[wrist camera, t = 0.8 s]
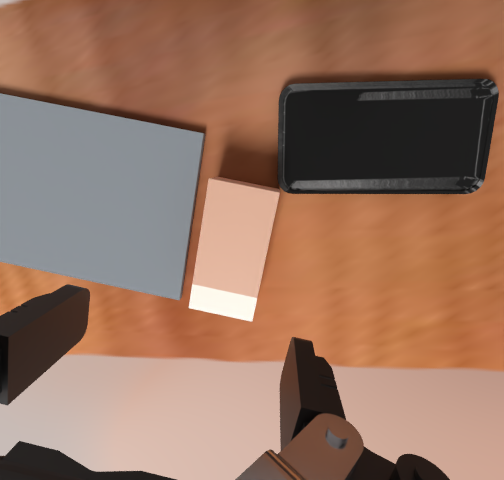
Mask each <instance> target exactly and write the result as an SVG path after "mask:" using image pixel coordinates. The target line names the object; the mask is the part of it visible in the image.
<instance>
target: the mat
mask: <svg viewBox="0 0 504 480" xmlns="http://www.w3.org/2000/svg"><path fill="white" fill-rule="evenodd" d="M204 140H205V134H204V133H199V132H194V131H189V130H184V129H179V128H174V127H169V126H163V125H158V124H153V123H148V122H143V121H138V120H133V119H128V118H123V117H118V116H113V115H108V114H103V113H98V112H92V111H87V110H82V109H77V108H72V107H67V106H62V105H57V104H52V103H47V102H42V101H37V100H32V99H26V98H21V97H16V96H11V95H6V94H1V93H0V262H4V263H9V264H14V265H18V266H23V267H27V268H32V269H37V270H41V271H46V272H51V273H55V274H60V275H65V276H69V277H74V278H78V279H83V280H88V281H92V282H97V283H102V284H106V285H111V286H116V287H120V288H125V289H130V290H134V291H139V292H143V293H148V294H153V295H157V296H162V297H167V298H171V299H176V300H180V299H181V297H182V290H183V284H184V277H185V270H186V263H187V256H188V250H189V243H190V236H191V229H192V222H193V215H194V209H195V202H196V195H197V188H198V181H199V175H200V168H201V161H202V154H203V147H204Z"/></svg>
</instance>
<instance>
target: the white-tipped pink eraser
mask: <svg viewBox="0 0 504 480" xmlns="http://www.w3.org/2000/svg"><path fill="white" fill-rule="evenodd" d="M279 194H280V190H279V189H277V188H272V187H267V186H262V185H257V184H252V183H247V182H242V181H237V180H232V179H227V178H222V177H213V178H209V180H208V187H207V193H206V200H205V206H204V213H203V219H202V226H201V232H200V239H199V245H198V252H197V258H196V264H195V271H194V277H193V284H192V290H191V297H190V303H189V308H192V309H196V310H201V311H205V312H210V313H215V314H219V315H224V316H228V317H233V318H238V319H242V320H247V321H252V320H253V315H254V311H255V306H256V301H257V297H258V292H259V287H260V283H261V278H262V273H263V269H264V264H265V259H266V255H267V250H268V245H269V241H270V236H271V231H272V227H273V222H274V217H275V213H276V208H277V203H278V199H279Z"/></svg>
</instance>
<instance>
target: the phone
mask: <svg viewBox="0 0 504 480" xmlns="http://www.w3.org/2000/svg"><path fill="white" fill-rule="evenodd" d="M498 96H499V91H498V88H497V86H496V84H495V83H494V82H492V81H491V80H489V79H456V80H418V81H379V82H341V83H302V84H291V85H289V86H287V87H286V88H285V89H284V90H283V91H282V93H281V95H280V98H279V123H278V183H279V185H280V187H281V188H282V189H283V190H284V191H285V192H287V193H292V194H468V193H472V192H474V191H476V190H477V189H479V188H480V187H481V185H482V184H483V182H484V179H485V174H486V168H487V162H488V156H489V150H490V144H491V139H492V133H493V127H494V121H495V115H496V109H497V103H498Z"/></svg>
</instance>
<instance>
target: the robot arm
mask: <svg viewBox="0 0 504 480" xmlns="http://www.w3.org/2000/svg"><path fill="white" fill-rule="evenodd" d="M89 301H90V292H89V290H88V289H86V288H82V287H78V286H73V285H65V286H63V287H61V288H60V289H58V290H56V291H54V292H52V293H51V294H50V293H49V294H46V295H42V296H38V297H35V298H32V299H31V300H29V301H27V302H25V303H23V304H21V306H18V307H16V308H14V309H12V310H11V312H7V313H5V314H3V315H1V316H0V403H1V404H5V405H8V404H10V403H11V402H12V401H13V400H14V399H15V398H16V397H17V396H19V395H20V394H21V393H22V392H23V391H24V390H25V389H26V388H28V386H30V385H31V384H32V383H33V382H34V381H35V380H37V379H38V378H39V377H40V376H41V375H42V374H43V373H44V372H46V371H47V370H48V369H49V368H50V367H51V366H52V365H53V364H54V363H56V362H57V361H58V360H59V359H60V358H61V357H62V356H63V355H65V354H66V353H67V352H68V351H69V350H70V349H71V348H72V347H74V346H75V345H76V344H77V343H78V342H79V341H80V340H81V339H82V337H83V336H84V334H85V332H86V329H87V324H88V312H89ZM334 379H335V378H334V374H333V371H332V368H331V366H330V365H329V364H328V363H327V361H326V360H325V359H324V358H323V357H318V356H315V353H314V348H313V343H312V341H309V340H305V339H300V338H296V337H292V339H291V341H290V345H289V349H288V352H287V356H286V360H285V363H284V367H283V371H282V375H281V381H280V430H281V432H280V433H281V452H280V453H278V454H276V453H274V451H273V450H268V451H266V452H265V453H264V454H263V455H262V456H261V457H259V458H258V459H257V460H256V461H255V462H254V463H253V464H252V465H251V466H250V467H249V468H247V469H246V470H245V471H244V472H243V473H242V474H241V475H240V476H239V477H238V478H237V479H236V480H450V479H449V478H448V477H447V476H446V475H445V474H444V473H443V472H442V471H441V470H440V469H439V468H438V467H437V466H436V465H434V464H433V463H431V462H430V461H428V460H426V459H424V458H422V457H420V456H417V455H413V454H404V455H402V456H400V457H399V458H398V460H397V462H396V464H394V463H392V462H390V461H389V460H387V459H385V458H383V457H381V456H379V455H377V454H375V453H373V452H371V451H370V450H368V449H367V448H366V447H364V446H363V440H362V438H361V436H360V434H359V432H358V431H357V430H356V429H355V427H354V426H353V425H352V424H350V423H349V422H348V421H346V418H345V414H344V411H343V407H342V403H341V400H340V396H339V392H338V390H337V385H336V382H335V380H334ZM0 480H176V479H171V478H168V477H163V476H159V475H156V474H151V473H147V472H143V471H117V472H116V471H114V472H95V471H91V470H89V469H88V468H86V467H84V466H83V465H81V464H79V463H78V462H76V461H74V460H73V459H71V458H70V457H68V456H66V455H65V454H63V453H61V452H60V451H58V450H54V449H49V448H45V447H41V446H37V445H33V444H29V443H25V442H21V441H19V442H18V443H17V444H16V445H15V446H14V447H13V448H12V449H11V450H10V451H9V453H8V454H7V455H6V456H0Z"/></svg>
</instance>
